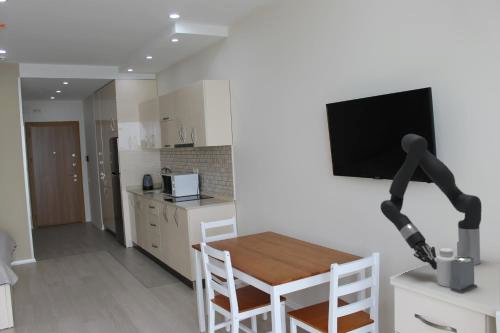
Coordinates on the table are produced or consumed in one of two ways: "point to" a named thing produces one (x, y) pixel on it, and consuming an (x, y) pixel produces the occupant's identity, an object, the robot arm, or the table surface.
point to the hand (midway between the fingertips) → (437, 268)
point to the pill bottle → (444, 266)
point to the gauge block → (462, 274)
